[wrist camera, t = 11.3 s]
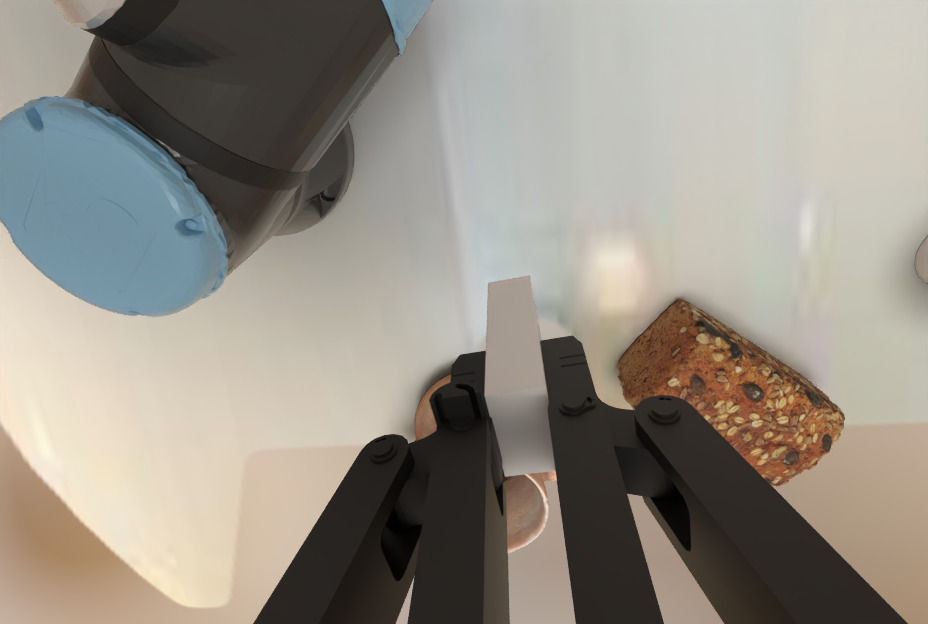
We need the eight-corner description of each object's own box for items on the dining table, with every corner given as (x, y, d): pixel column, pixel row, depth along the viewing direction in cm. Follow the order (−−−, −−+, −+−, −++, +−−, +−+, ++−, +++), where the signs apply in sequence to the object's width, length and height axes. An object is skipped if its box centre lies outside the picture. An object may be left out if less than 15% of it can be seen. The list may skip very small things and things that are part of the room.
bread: (608, 362, 54) (630, 425, 45) (681, 286, 50) (721, 339, 41) (737, 441, 58) (781, 513, 49) (816, 377, 54) (879, 444, 45)
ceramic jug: (545, 340, 53) (561, 434, 41) (569, 445, 60) (588, 554, 47) (382, 372, 56) (349, 468, 44) (420, 469, 63) (402, 577, 50)
